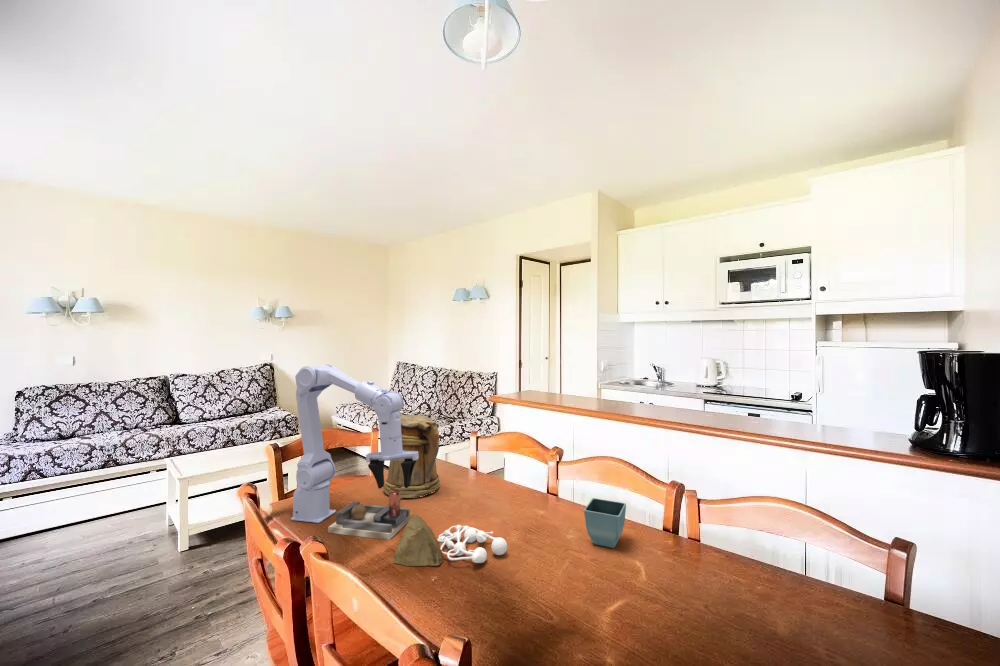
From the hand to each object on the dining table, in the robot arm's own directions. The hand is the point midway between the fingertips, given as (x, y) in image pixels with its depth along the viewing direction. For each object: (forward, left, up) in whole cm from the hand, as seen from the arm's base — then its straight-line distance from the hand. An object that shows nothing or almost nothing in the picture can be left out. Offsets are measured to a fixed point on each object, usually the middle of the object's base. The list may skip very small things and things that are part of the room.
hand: (394, 487), depth 110 cm
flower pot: (+56, +5, -12) cm, 57 cm away
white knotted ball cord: (+23, -6, -12) cm, 27 cm away
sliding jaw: (-1, 0, -10) cm, 10 cm away
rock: (+14, -14, -12) cm, 23 cm away
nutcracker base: (-7, 0, -11) cm, 13 cm away
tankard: (-6, +27, -12) cm, 30 cm away
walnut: (-11, 0, -8) cm, 13 cm away
